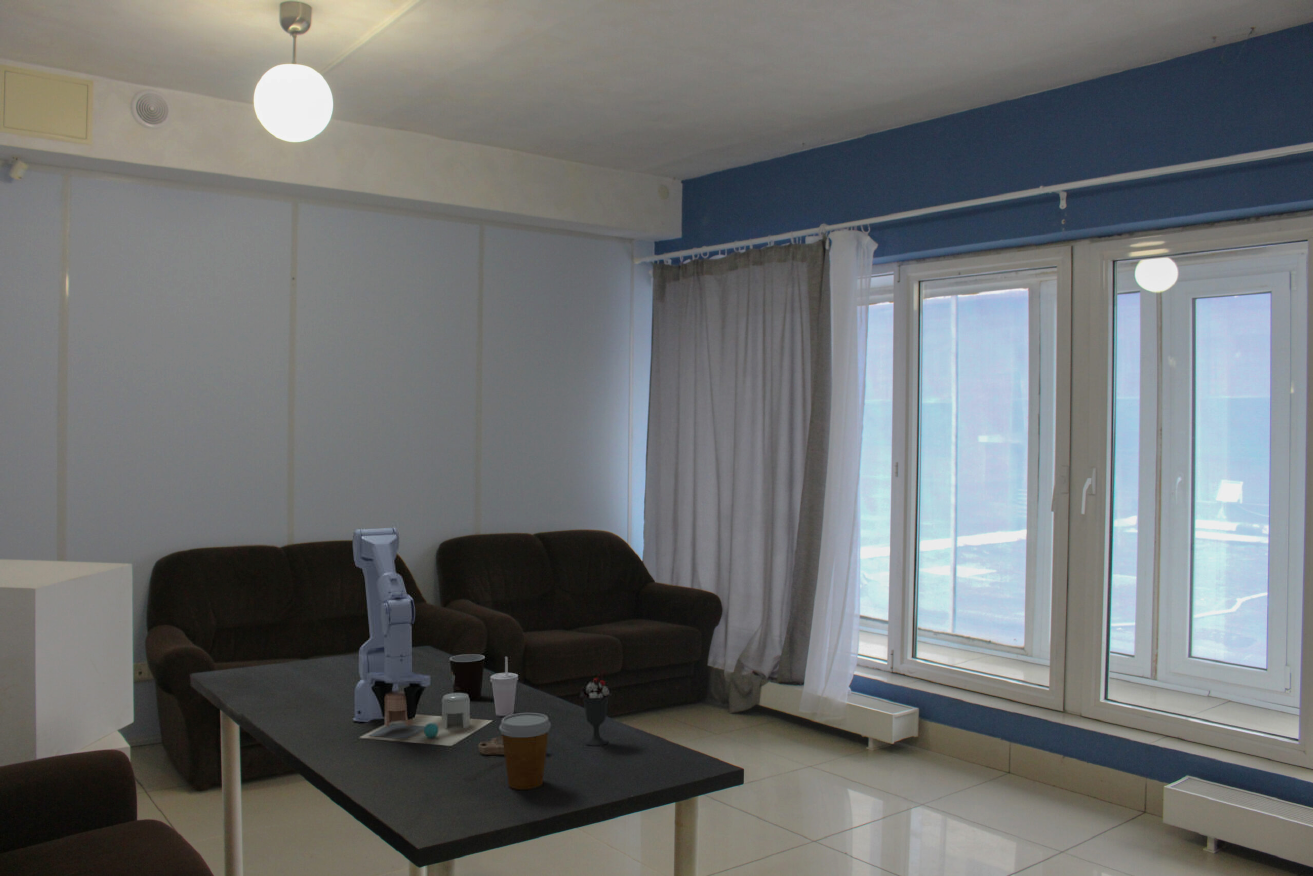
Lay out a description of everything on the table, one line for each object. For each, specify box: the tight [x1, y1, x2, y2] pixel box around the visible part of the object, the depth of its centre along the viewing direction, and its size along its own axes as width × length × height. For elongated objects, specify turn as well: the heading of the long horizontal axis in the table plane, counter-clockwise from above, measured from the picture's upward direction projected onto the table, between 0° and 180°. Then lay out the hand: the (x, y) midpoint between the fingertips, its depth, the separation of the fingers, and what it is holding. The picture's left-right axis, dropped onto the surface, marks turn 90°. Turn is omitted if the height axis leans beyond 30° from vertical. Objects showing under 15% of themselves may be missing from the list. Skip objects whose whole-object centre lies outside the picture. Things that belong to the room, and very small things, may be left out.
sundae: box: [579, 669, 612, 747], centre depth 207 cm, size 7×7×15 cm
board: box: [358, 713, 493, 747], centre depth 214 cm, size 22×19×1 cm
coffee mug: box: [449, 653, 486, 702], centre depth 245 cm, size 12×9×10 cm
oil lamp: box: [478, 735, 505, 756], centre depth 199 cm, size 13×8×5 cm, turn 105°
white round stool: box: [441, 692, 471, 729], centre depth 216 cm, size 6×6×7 cm
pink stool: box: [384, 689, 413, 727], centre depth 212 cm, size 6×6×7 cm
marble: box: [424, 723, 438, 738], centre depth 208 cm, size 3×3×3 cm
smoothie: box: [490, 656, 519, 717], centre depth 226 cm, size 6×6×14 cm
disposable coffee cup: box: [498, 712, 552, 790], centre depth 182 cm, size 10×10×12 cm
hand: (398, 717), depth 212 cm, fingers closed on pink stool, 5 cm apart
